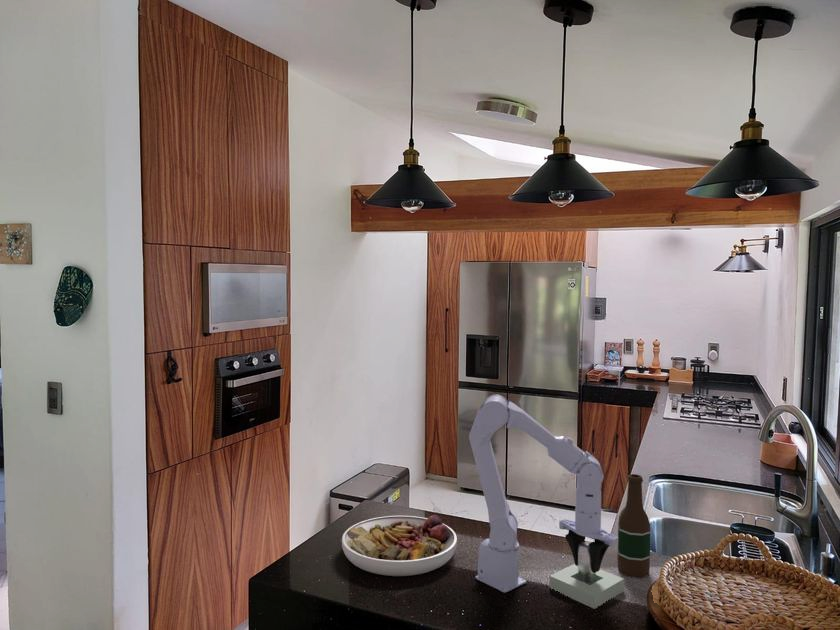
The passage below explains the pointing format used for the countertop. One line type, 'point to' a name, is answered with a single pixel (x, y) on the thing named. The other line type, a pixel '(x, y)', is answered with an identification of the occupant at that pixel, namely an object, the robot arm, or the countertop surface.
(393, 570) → the bowl
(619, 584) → the hole block
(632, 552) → the beer bottle
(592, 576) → the steel peg
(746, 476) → the countertop surface
